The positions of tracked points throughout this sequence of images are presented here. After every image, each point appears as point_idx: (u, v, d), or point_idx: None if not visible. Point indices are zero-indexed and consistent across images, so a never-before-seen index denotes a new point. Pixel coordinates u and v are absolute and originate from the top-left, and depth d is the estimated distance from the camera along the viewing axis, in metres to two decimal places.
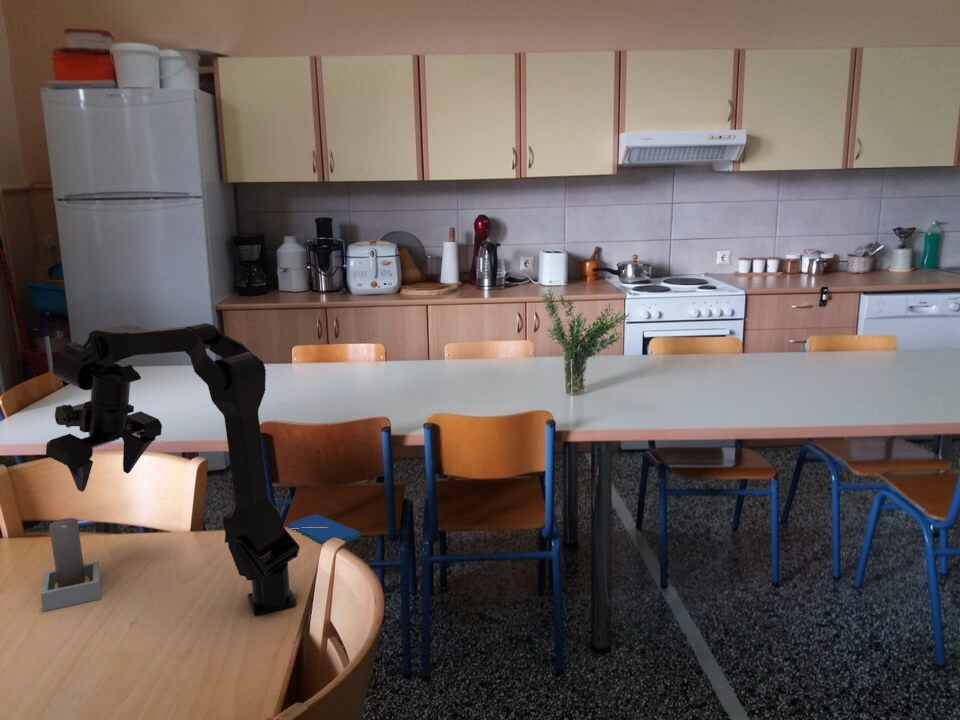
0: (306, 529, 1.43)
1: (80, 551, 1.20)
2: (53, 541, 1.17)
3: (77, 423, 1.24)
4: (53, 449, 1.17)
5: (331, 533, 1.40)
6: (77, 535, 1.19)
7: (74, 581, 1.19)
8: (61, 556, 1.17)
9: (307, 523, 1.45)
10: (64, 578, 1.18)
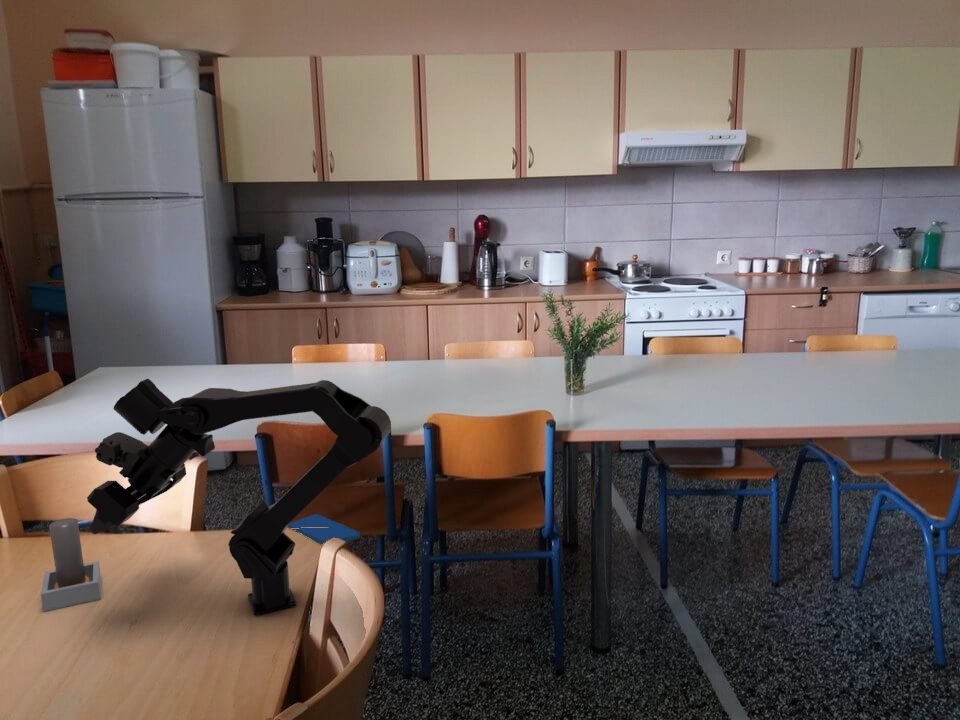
0: (306, 528, 1.43)
1: (80, 551, 1.20)
2: (53, 541, 1.17)
3: (117, 463, 1.12)
4: (103, 501, 1.06)
5: (331, 533, 1.40)
6: (78, 535, 1.19)
7: (74, 581, 1.19)
8: (61, 556, 1.17)
9: (307, 523, 1.45)
10: (64, 578, 1.18)
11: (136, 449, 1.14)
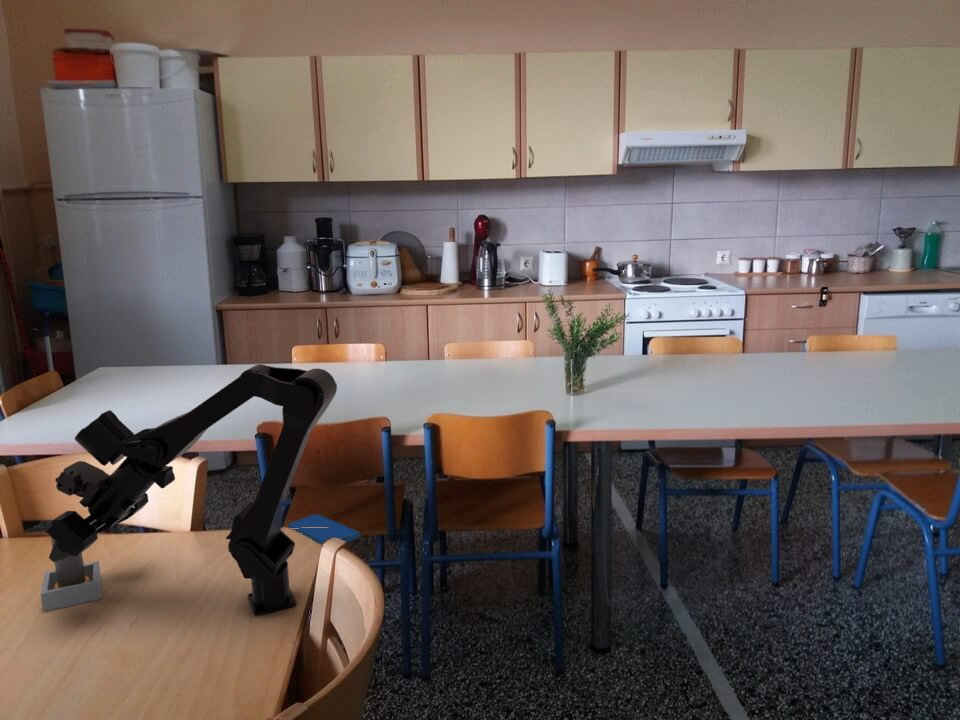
0: (306, 528, 1.43)
1: None
2: (53, 541, 1.17)
3: (78, 493, 1.14)
4: (61, 532, 1.08)
5: (331, 533, 1.40)
6: None
7: (74, 581, 1.19)
8: None
9: (307, 523, 1.45)
10: (64, 578, 1.18)
11: (97, 478, 1.16)
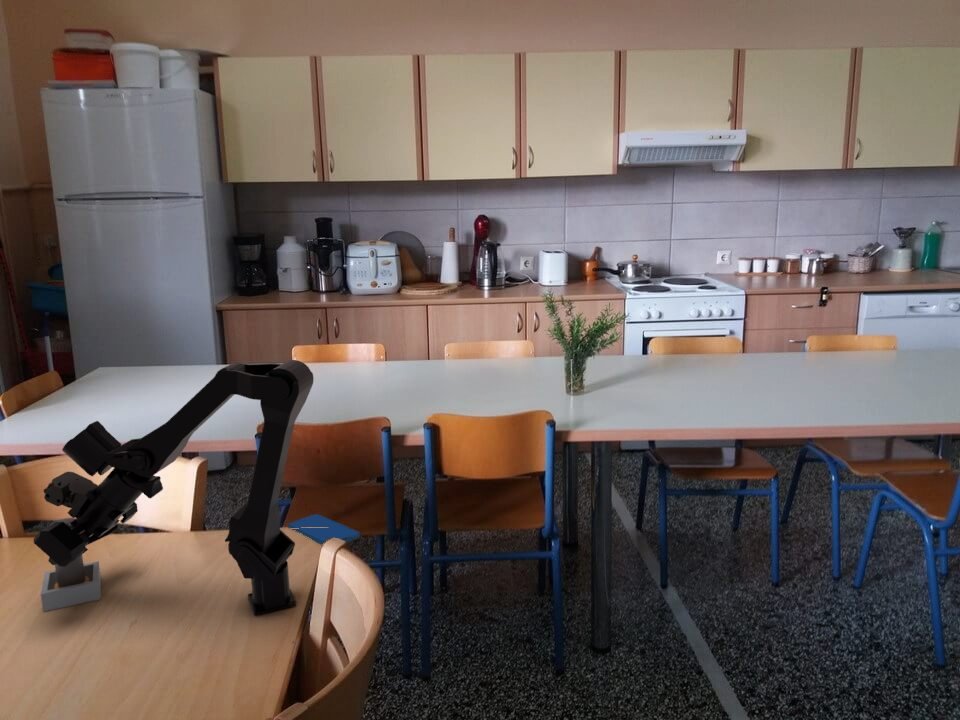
0: (306, 528, 1.43)
1: None
2: None
3: (66, 503, 1.15)
4: (49, 543, 1.08)
5: (331, 533, 1.40)
6: None
7: (74, 581, 1.19)
8: None
9: (307, 523, 1.45)
10: (64, 578, 1.18)
11: (85, 489, 1.16)
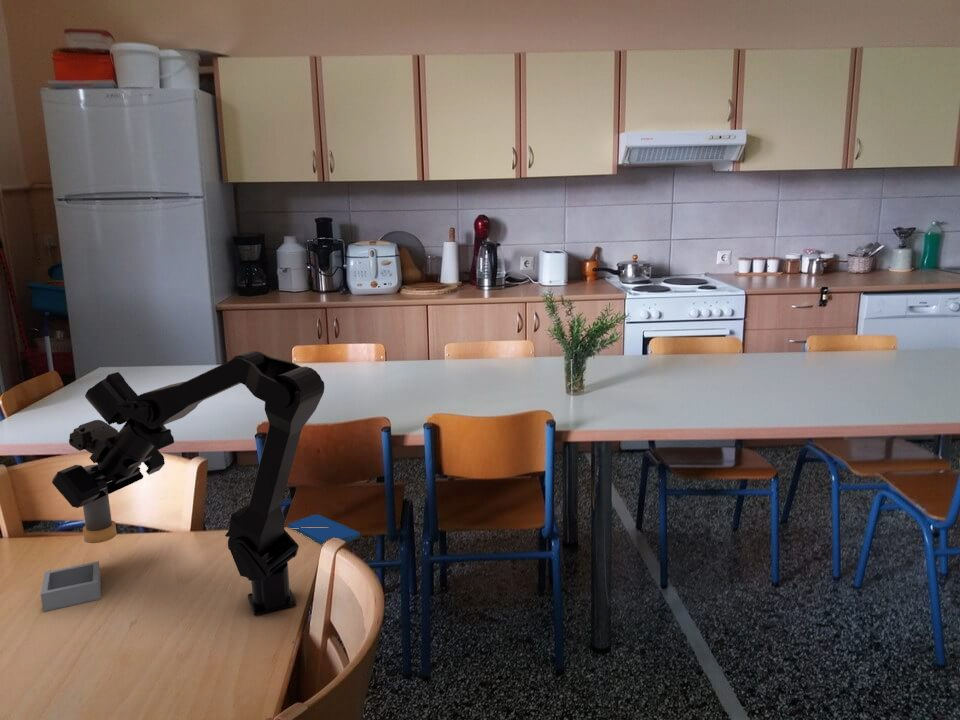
0: (306, 528, 1.43)
1: (106, 496, 1.25)
2: None
3: (89, 449, 1.21)
4: (63, 484, 1.14)
5: (330, 533, 1.40)
6: None
7: (99, 525, 1.25)
8: None
9: (307, 523, 1.45)
10: (90, 520, 1.24)
11: (107, 437, 1.21)
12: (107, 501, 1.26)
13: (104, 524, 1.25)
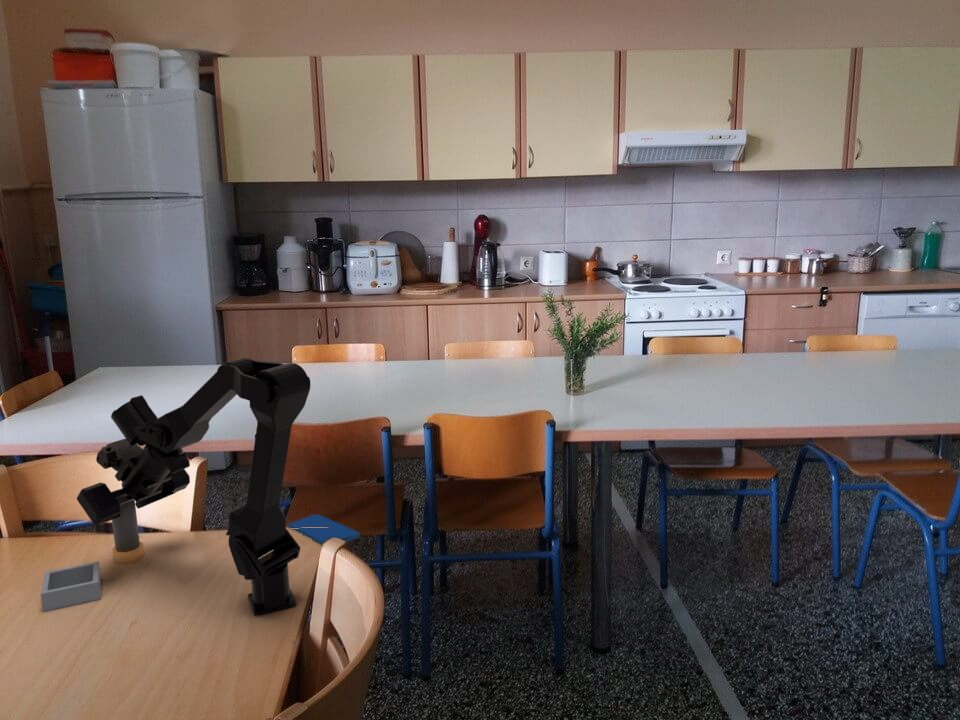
0: (306, 528, 1.43)
1: (133, 520, 1.31)
2: None
3: (115, 467, 1.26)
4: (85, 501, 1.20)
5: (330, 533, 1.40)
6: (131, 505, 1.31)
7: (126, 546, 1.31)
8: (115, 522, 1.30)
9: (307, 523, 1.45)
10: (118, 542, 1.31)
11: (132, 456, 1.27)
12: (135, 524, 1.32)
13: (131, 546, 1.31)
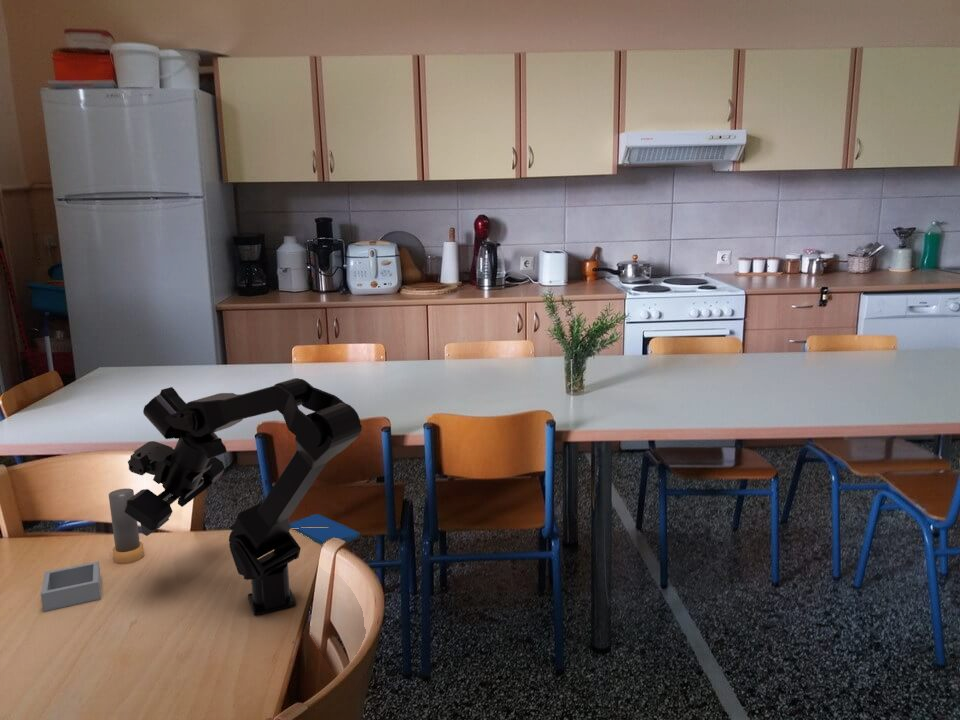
0: (306, 528, 1.43)
1: (133, 520, 1.31)
2: (110, 507, 1.30)
3: (150, 471, 1.21)
4: (136, 510, 1.15)
5: (330, 533, 1.40)
6: None
7: (126, 546, 1.31)
8: (115, 522, 1.30)
9: (307, 523, 1.45)
10: (118, 542, 1.31)
11: (164, 456, 1.22)
12: (135, 524, 1.32)
13: (131, 546, 1.31)
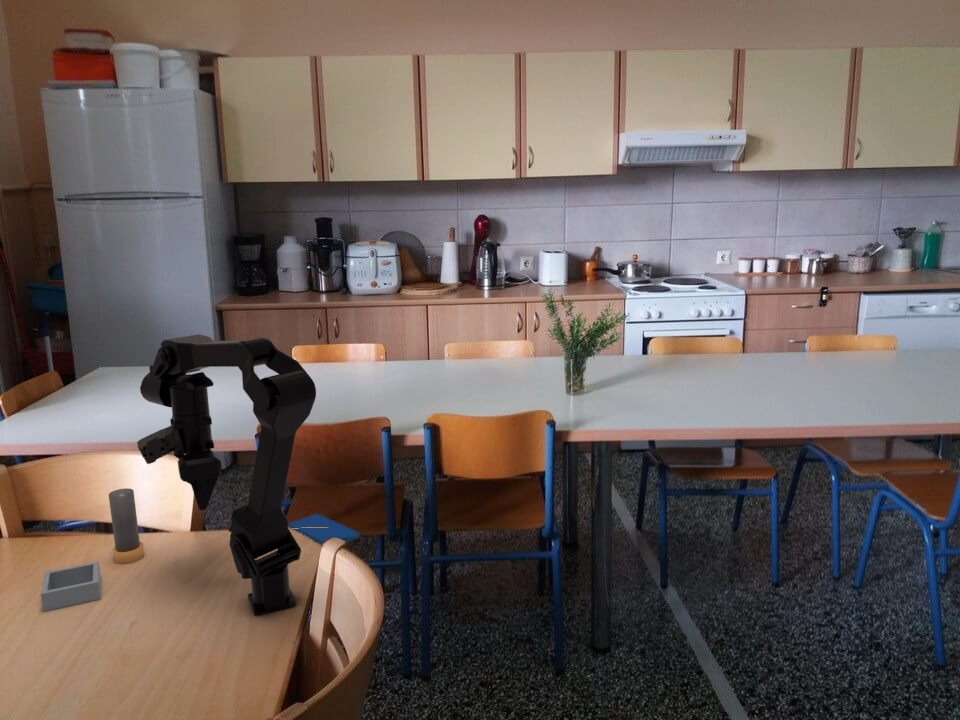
0: (306, 528, 1.43)
1: (133, 520, 1.31)
2: (110, 507, 1.30)
3: (167, 450, 1.19)
4: (195, 467, 1.15)
5: (330, 533, 1.40)
6: (131, 505, 1.31)
7: (126, 546, 1.31)
8: (115, 522, 1.30)
9: (307, 523, 1.45)
10: (118, 542, 1.31)
11: (167, 431, 1.21)
12: (135, 524, 1.32)
13: (131, 546, 1.31)
